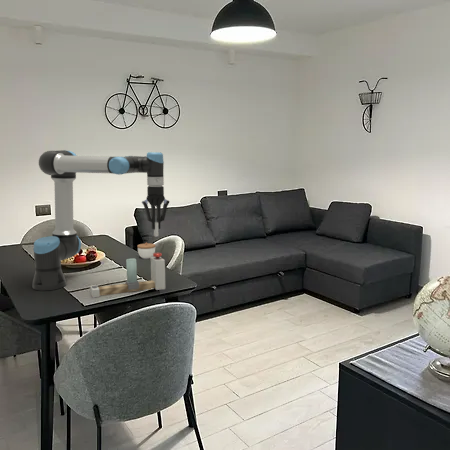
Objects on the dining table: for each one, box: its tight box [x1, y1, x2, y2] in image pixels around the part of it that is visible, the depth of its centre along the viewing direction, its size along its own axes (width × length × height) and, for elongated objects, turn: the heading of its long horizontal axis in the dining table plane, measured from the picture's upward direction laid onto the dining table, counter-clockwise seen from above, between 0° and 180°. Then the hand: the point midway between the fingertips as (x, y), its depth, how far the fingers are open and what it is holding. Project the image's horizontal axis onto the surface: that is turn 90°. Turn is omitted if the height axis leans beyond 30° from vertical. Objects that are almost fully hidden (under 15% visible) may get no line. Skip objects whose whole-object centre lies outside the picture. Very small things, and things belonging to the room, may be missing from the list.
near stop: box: [89, 284, 100, 299], centre depth 208 cm, size 3×7×4 cm, turn 24°
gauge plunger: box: [152, 252, 163, 260], centre depth 219 cm, size 4×4×11 cm
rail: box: [98, 279, 155, 296], centre depth 214 cm, size 26×4×3 cm, turn 114°
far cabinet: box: [150, 256, 166, 291], centre depth 219 cm, size 4×9×14 cm, turn 24°
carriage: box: [124, 257, 140, 290], centre depth 214 cm, size 5×6×13 cm
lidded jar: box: [137, 241, 156, 260], centre depth 279 cm, size 11×11×9 cm
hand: (156, 235), depth 217 cm, fingers closed
